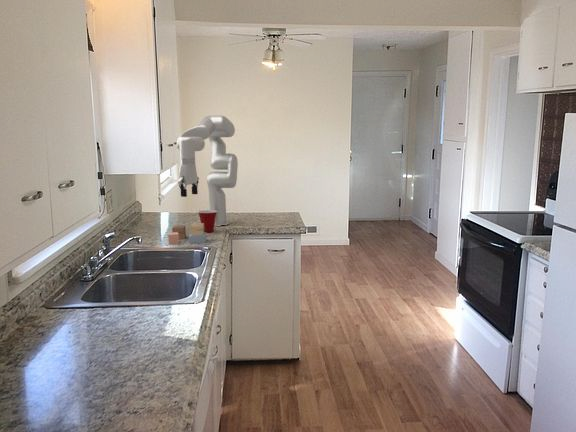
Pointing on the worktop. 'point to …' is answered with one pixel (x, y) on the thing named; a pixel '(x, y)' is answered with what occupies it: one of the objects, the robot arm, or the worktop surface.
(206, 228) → the plastic cup
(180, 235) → the walnut cube
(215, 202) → the robot arm
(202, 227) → the oak block
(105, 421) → the worktop surface
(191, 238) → the base block
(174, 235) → the terracotta block
